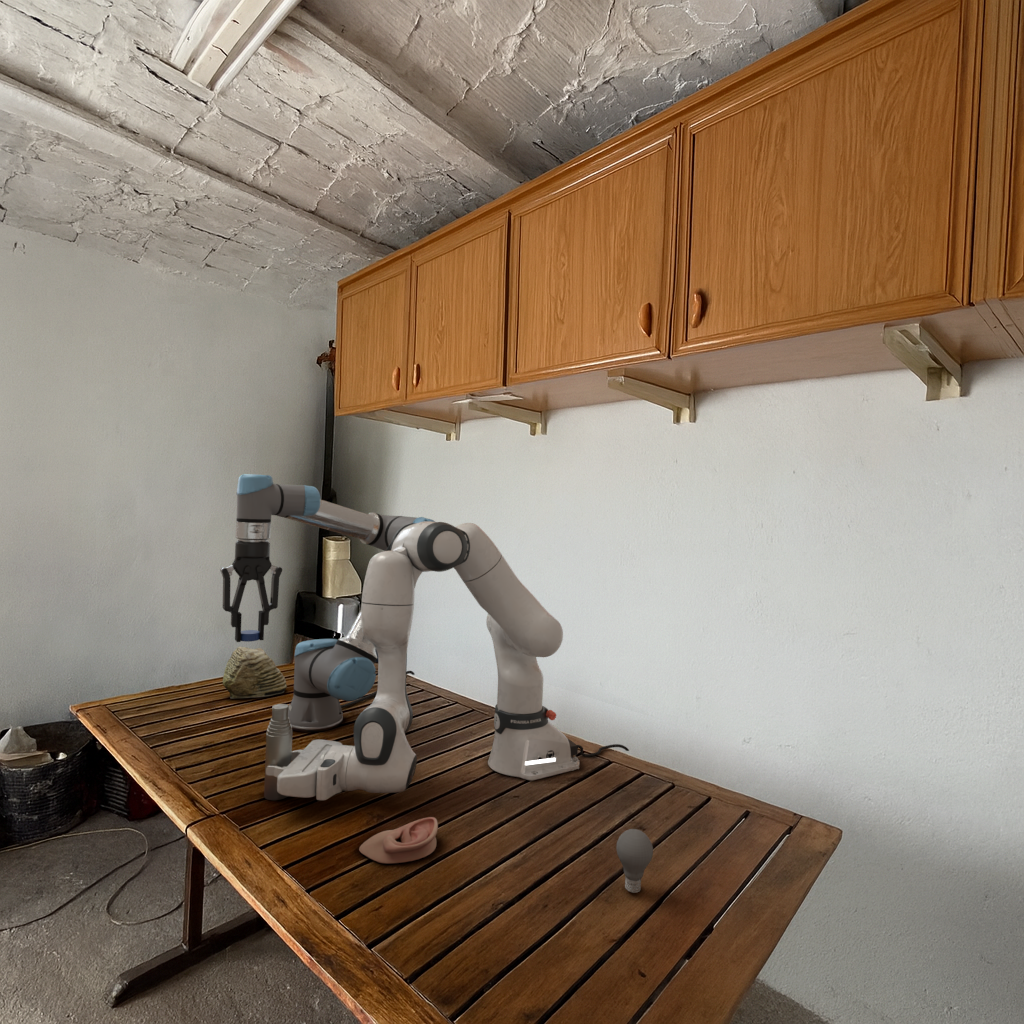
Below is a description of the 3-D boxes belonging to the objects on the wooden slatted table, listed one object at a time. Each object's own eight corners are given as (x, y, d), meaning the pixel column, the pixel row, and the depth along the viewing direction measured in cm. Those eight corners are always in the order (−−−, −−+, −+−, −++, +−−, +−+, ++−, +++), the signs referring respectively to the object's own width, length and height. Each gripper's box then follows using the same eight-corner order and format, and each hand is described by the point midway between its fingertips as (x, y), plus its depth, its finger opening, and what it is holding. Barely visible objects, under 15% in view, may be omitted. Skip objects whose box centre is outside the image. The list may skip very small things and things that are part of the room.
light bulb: (610, 879, 108) (613, 822, 108) (644, 879, 109) (647, 822, 109) (619, 902, 102) (622, 840, 102) (655, 901, 103) (658, 840, 103)
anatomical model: (352, 836, 111) (378, 805, 123) (351, 858, 111) (377, 826, 123) (423, 847, 109) (444, 815, 120) (422, 870, 109) (443, 836, 120)
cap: (259, 637, 151) (259, 629, 151) (259, 641, 147) (260, 633, 147) (239, 637, 149) (239, 630, 149) (238, 642, 145) (239, 634, 145)
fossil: (218, 695, 195) (220, 647, 195) (278, 685, 208) (279, 640, 207) (228, 703, 189) (230, 653, 188) (289, 692, 201) (290, 645, 201)
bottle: (295, 792, 135) (298, 704, 135) (278, 802, 131) (282, 711, 130) (275, 787, 137) (278, 700, 137) (258, 797, 132) (261, 707, 132)
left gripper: (214, 541, 140) (211, 646, 140) (295, 541, 149) (291, 640, 150) (209, 539, 146) (206, 639, 147) (287, 539, 156) (283, 633, 156)
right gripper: (354, 734, 143) (294, 730, 144) (322, 772, 123) (252, 768, 124) (352, 761, 143) (293, 757, 144) (321, 805, 123) (251, 800, 124)
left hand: (249, 639), depth 148 cm, fingers closed on cap, 4 cm apart
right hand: (274, 762), depth 134 cm, fingers closed on bottle, 5 cm apart
